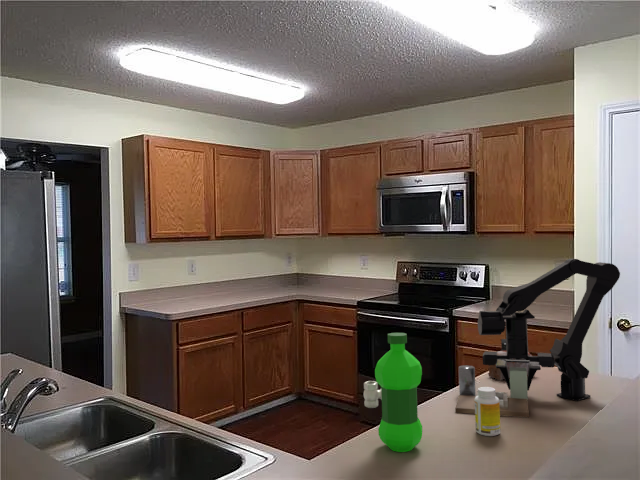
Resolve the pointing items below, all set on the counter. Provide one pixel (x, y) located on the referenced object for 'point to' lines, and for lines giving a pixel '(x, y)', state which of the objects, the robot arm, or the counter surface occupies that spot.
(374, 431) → the counter surface
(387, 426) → the plastic bottle
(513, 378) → the square peg
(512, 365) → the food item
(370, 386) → the valve
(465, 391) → the round peg
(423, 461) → the counter surface
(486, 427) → the supplement bottle
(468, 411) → the bore board
